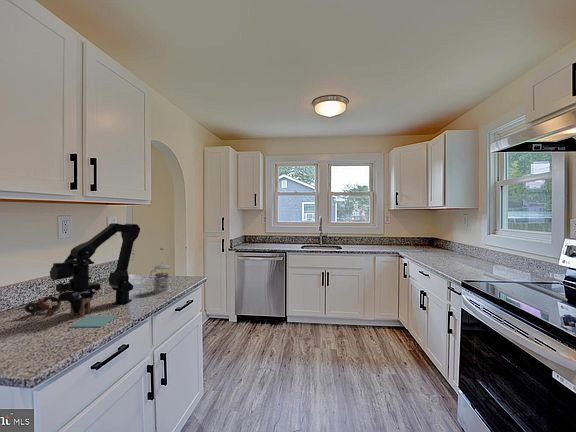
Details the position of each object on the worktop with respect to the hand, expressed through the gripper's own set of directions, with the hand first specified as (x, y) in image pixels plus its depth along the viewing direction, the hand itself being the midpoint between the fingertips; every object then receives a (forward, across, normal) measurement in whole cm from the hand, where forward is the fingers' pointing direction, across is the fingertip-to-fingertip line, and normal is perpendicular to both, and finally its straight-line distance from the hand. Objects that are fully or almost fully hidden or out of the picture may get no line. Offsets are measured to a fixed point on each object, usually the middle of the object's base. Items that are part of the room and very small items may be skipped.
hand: (80, 311), depth 124 cm
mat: (+2, +8, +11) cm, 14 cm away
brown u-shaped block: (+2, 0, 0) cm, 2 cm away
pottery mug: (+2, -1, -16) cm, 17 cm away
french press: (+2, -38, +19) cm, 43 cm away
